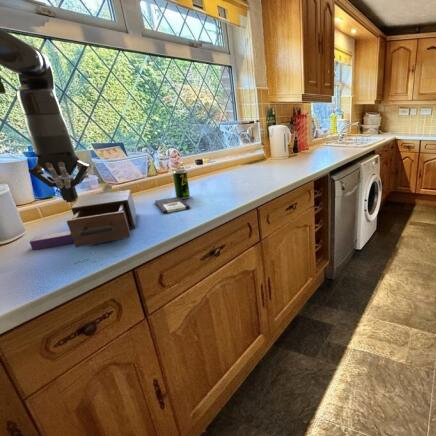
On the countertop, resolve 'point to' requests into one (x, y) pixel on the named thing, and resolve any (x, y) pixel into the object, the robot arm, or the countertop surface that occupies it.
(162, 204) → the chocolate bar
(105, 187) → the chocolate bunny
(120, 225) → the drawer
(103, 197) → the cabinet
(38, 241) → the purple rectangular block
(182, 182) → the beer can
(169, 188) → the countertop surface
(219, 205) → the countertop surface
